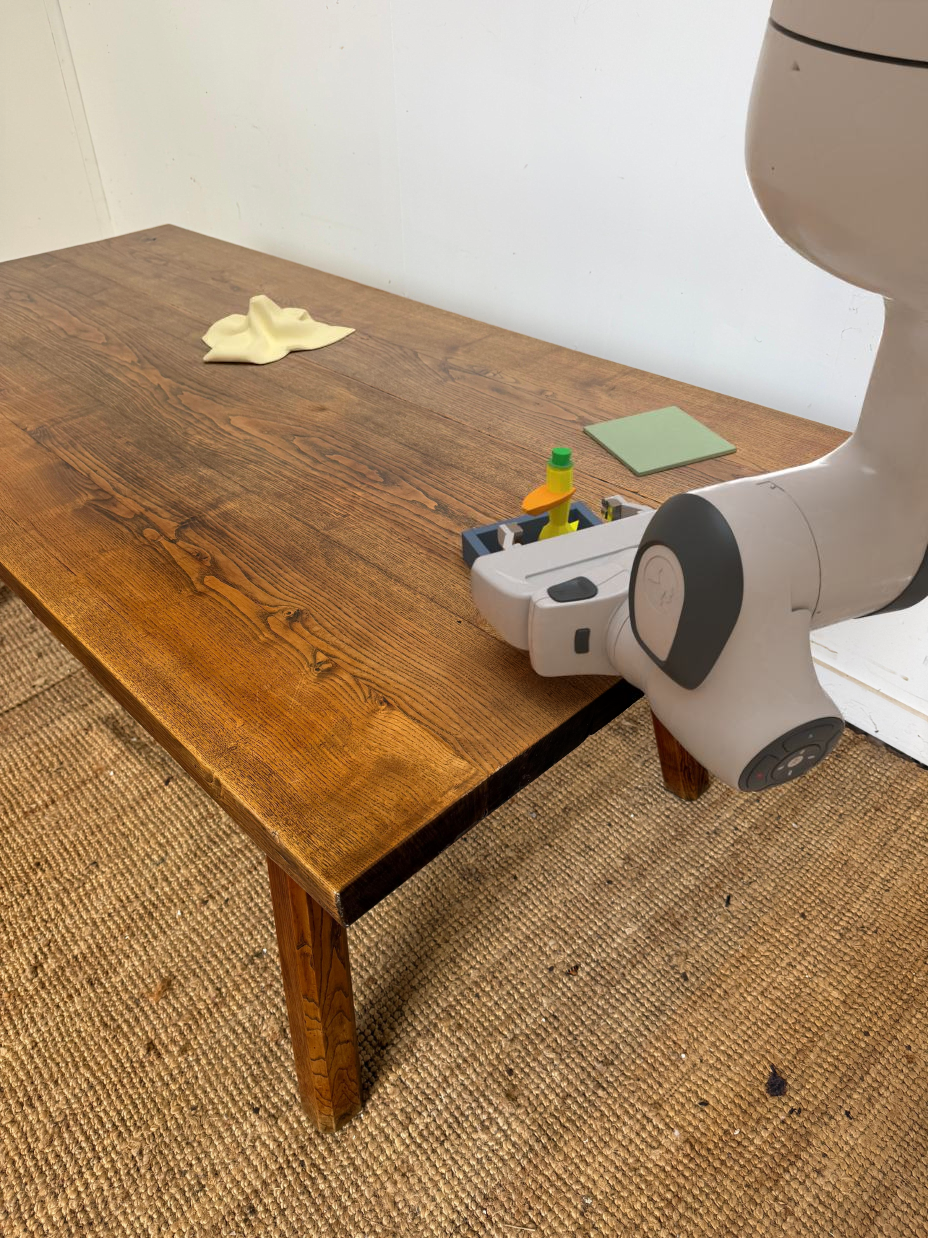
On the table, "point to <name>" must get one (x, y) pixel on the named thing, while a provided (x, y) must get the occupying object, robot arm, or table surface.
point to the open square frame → (487, 536)
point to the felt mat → (658, 440)
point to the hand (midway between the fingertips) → (558, 517)
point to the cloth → (267, 333)
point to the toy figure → (554, 495)
